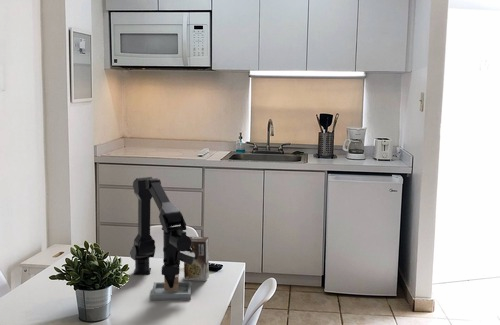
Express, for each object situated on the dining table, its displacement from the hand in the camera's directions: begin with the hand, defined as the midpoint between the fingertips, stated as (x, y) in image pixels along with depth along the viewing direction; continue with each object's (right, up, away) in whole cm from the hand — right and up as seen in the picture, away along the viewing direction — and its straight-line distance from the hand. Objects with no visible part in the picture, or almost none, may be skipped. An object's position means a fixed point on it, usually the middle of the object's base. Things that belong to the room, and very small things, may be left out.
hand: (171, 285), depth 208 cm
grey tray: (0, -3, 0) cm, 3 cm away
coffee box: (+8, -1, +17) cm, 19 cm away
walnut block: (0, -1, 0) cm, 1 cm away
